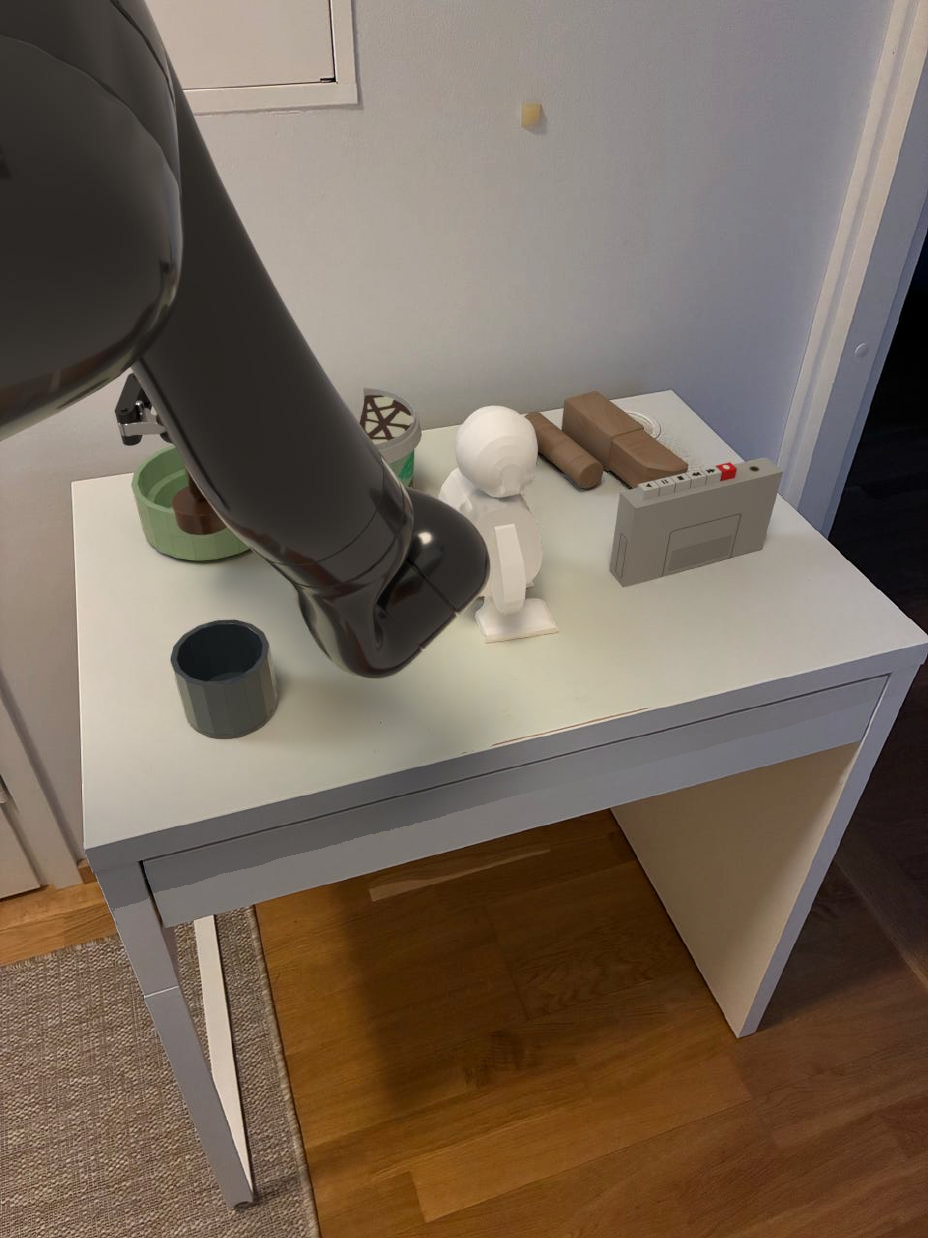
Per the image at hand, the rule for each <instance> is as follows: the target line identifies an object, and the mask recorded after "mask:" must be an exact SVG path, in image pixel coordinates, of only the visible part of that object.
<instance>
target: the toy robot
mask: <svg viewBox="0 0 928 1238" xmlns="http://www.w3.org/2000/svg"><path fill="white" fill-rule="evenodd" d="M454 452H455V461H456V465H457V467H456V468H455V469H453V470H452V471H451V472H450V473H449V475H448V477H447V478H446V479H445V480H444V482H443V484H442V486H441V488H440V491H439V493H438V497H437V498H438V499H440V500H442V501H443V502H445V503H447V504H449V505H450V506H452V507H454V508H455V509H456V510H458V511H459V512H460V513H462V514H463V515H464V516H465V517H467V518H468V519H469V520H470V521H471V522H472V523H473V524H474V526H475V527H476V528H477V529H478V531H479V532H480V534H481V535H482V537H483V539H484V541H485V543H486V545H487V548H488V552H489V556H490V566H491V570H490V576H489V580H488V583H487V585H486V587H485V589H484V590H483V591H482V593H481V594H480V595H479V596H478V598H482V597H484V599H483V604H482V606H481V607H480V608H478V610H476V611H475V615H474V620H475V622H476V625H477V626H478V629H479V631H480V634H481V635H482V638H483V640H484V643H485V644H490V643H497V642H503V641H509V640H516V639H517V640H518V639H523V638H530V637H536V636H542V635H550V634H556V633H559V632H560V631H559V629H558V625H557V624H556V622H555V620H554V618H553V616H552V614H551V613H550V611H549V609H548V607H547V605H546V603H545V601H544V600H542V599H541V598H526V589H528V588H534V587H535V583H534V579H535V578H536V577H537V576H538V573H539V571H540V569H541V568H542V563H543V543H542V538H541V531H540V528H539V524H538V522H537V519H536V518H535V516H534V514H533V512H532V511H531V509H530V508H529V505H528V504H527V502H526V500H525V498H524V497H523V495H522V492H523V491H524V490H525V489H526V488H527V487H528V486H529V485H531V484H532V483H534V481H535V479H536V476H537V466H536V465H537V461H538V452H539V450H538V444H537V439H536V434H535V430H534V427H533V426H532V424H531V422H530V421H529V420H528V419H526V418H525V417H524V416H523V414H520V413H519V412H518V411H516V410H514V409H512V408H509V407H506V406H502V405H488V406H483V407H480V408H478V409H476V410H474V411H473V412H472V413H471V414H470V415H469V416H468V417H466V419H465V420H464V421H463V422H462V424H461V426H460V428H459V429H458V431H457V434H456V438H455V442H454Z"/></svg>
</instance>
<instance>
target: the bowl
mask: <svg viewBox="0 0 928 1238" xmlns="http://www.w3.org/2000/svg"><path fill="white" fill-rule="evenodd" d="M130 486H131V490H132V493H133V498H134V501H135V505H136V509H137V512H138V517H139V520H140V524H141V527H142V531H143V533H144V537H145V539H146V541H147V543H148V544H150V545H151V546H152V547H153V548H154V549H155V550H156V551H158V552H159V553H162V554H164V555H167V556H170V557H172V558H175V559H180V560H187V561H188V560H189V561H196V562H198V561H211V560H219V559H220V560H221V559H224V558H228V557H231V556H235V555H239V554H242V553H244V552H246V551H248V550H251V549H250V548H249V547H248V546H247V545H245V544H244V543H243V542H242V541H241V540H240V539H239V538H238V537H237V536H236V535H235V534H234V533H233V532H232V531H231V530H230V529H229V528H228V527H227V528H225V529H224V530H222V531H220V532H217V533H214V534H209V535H192V534H188V533H185V532H183V531H182V530H181V529H180V528H179V527H178V526H177V524H176V519H175V515H174V511H173V507H172V499H173V497H174V495H175V494H176V493H177V492H178V491H180V490H181V489H183V488H185V487H187V486H189V485H188V481H187V476H186V472H185V467H184V463H183V460H182V459H181V457H180V455H179V453H178V451H177V449H176V447H175V445H174V444H171V445H170V446H169V445H168V446H167V447H164V448H162V449H160V450H157V451H155V452H154V453H153V454H151V455H150V456H148V457H147V458H146V459H144V460H142V462H141V463H140V464H139V465H138V467H137V468H136V469H135V470H134V471H133V475H132V479H131V485H130Z"/></svg>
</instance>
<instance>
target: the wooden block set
mask: <svg viewBox="0 0 928 1238" xmlns="http://www.w3.org/2000/svg"><path fill="white" fill-rule="evenodd" d="M562 409H563V410H562V419H561V428H559V427H558V426H557V425H556V424H554V422H552V421H551V420H550V419H549V418H547V417H546V416H545V415H543V414H542V413H541V412H539V411H531V412H528V413H527V414H525V415H524V416H523V417H525V418H526V419H528V420H529V421H530V422H531V424H532V426H533V427H534V430H535V434H536V439H537V444H538V452H539V453H541V454H542V455H543V456H544V457H545V458H546V459H548V460H549V461H550V462H551V463H552V464H553V465H555V467H557V468H558V469H559V470H560V471H561V472H562V473H563V474H564V475H566V476H567V477H568V478H569V479H570V480H571V481H572V482H574V483H575V484H576V485H577V486H578V487H579V488H581V489H586V490H587V489H591V488H593V487H595V486H596V485H597V484H598V483H599V482H600V481H601V479H602V478H603V475H604V471H605V472H610V471H611V472H613V473H614V475H616V476H617V477H618V478H620V479H621V480H622V481H624V482H625V483H626V484H627V485H628V486H629V487H631V489H634V488H637V487H638V484H641V483H645V482H650V481H654V480H658V479H662V478H666V477H670V476H675V475H679V474H683V473H687V472H688V470H689V464H688V463H687V462H686V461H685V460H684V459H683V458H681V457H679V456H678V455H677V454H676V453H674V452H673V451H672V450H670V449H669V448H668V447H667V446H665V445H664V444H662V442H660V441H658V440H657V439H656V438H655V437H653V436H652V435H651V434H650V433H648V432H647V431H646V430H645V427H644V425H643V424H642V423H640V422H639V421H637V420H636V419H635V418H633V417H632V416H631V415H629V414H628V413H627V412H625V410H623V409H622V408H620V407H619V406H618V405H616V403H614V402H613V401H611V400H610V399H608V398H607V397H606V396H605V395H603V394H602V393H600V392H599V391H597V390H596V391H595V390H593V391H590V392H586V393H582V394H578V395H575V396H571V397H568V398H567V397H566V398H565V399H564V401H563V408H562Z"/></svg>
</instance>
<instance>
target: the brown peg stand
mask: <svg viewBox="0 0 928 1238" xmlns="http://www.w3.org/2000/svg"><path fill="white" fill-rule="evenodd" d="M183 463H184V462H183ZM184 467H185V472H186V476H187V481H188V485H189V486H187V487H185V488H183V489H181V490H180V491H178V492H177V493H176V494H175V495H174V497H173V499H172V507H173V511H174V515H175V519H176V524H177V526H178V527H179V528H180V529H181V530H182V531H183V532H185V533H188V534H192V535H209V534H214V533H217V532H220V531H222V530H224V529H225V528H227V526H226V525H225V523H224V522H223V521H222V520H221V519H220V517H219V516H218V515H217V513H216V512H215V511H214V509H213V508H212V507H211V506H210V504H209V503H208V501H207V500H206V499H205V497H204V496H203V494H202V493H201V491H200V490H199V488H198V486H197V485H196V483H195V482H194V480H193V478H192V477H191V475H190V473H189V471H188V470H187V468H186V466H185V464H184Z"/></svg>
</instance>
